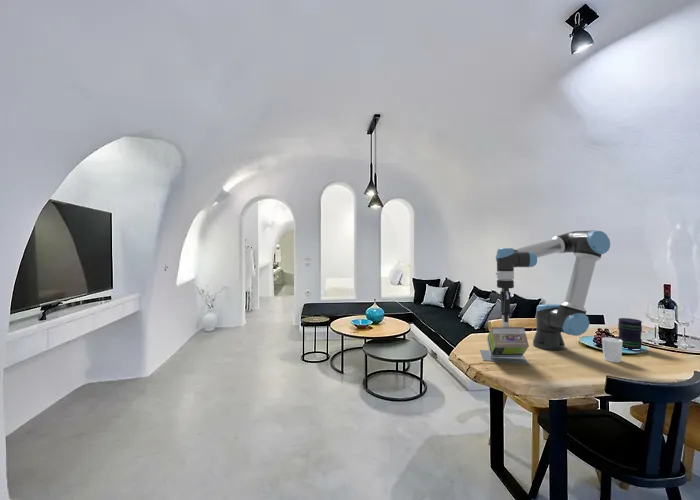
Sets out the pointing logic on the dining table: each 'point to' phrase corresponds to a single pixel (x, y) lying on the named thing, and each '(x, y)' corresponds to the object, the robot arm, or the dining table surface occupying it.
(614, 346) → the white cup
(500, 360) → the mat
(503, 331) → the tea box
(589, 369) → the dining table surface
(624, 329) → the storage jar
